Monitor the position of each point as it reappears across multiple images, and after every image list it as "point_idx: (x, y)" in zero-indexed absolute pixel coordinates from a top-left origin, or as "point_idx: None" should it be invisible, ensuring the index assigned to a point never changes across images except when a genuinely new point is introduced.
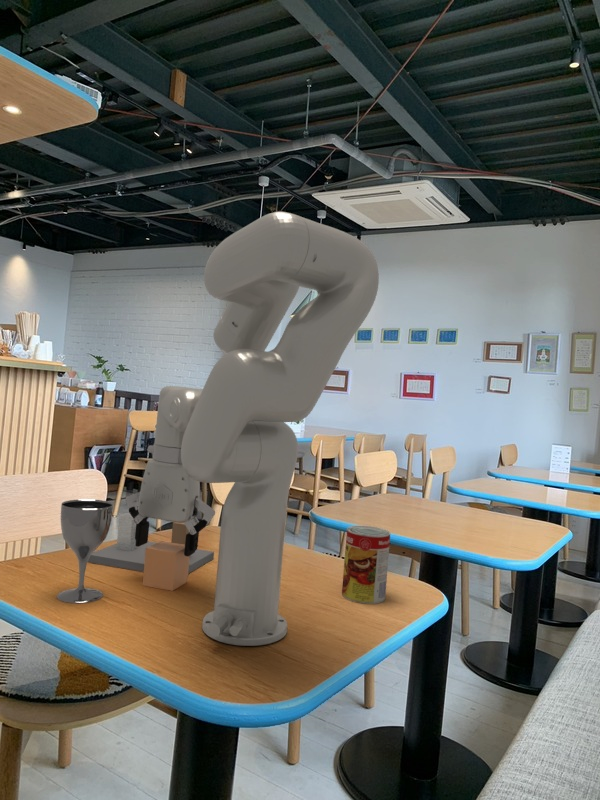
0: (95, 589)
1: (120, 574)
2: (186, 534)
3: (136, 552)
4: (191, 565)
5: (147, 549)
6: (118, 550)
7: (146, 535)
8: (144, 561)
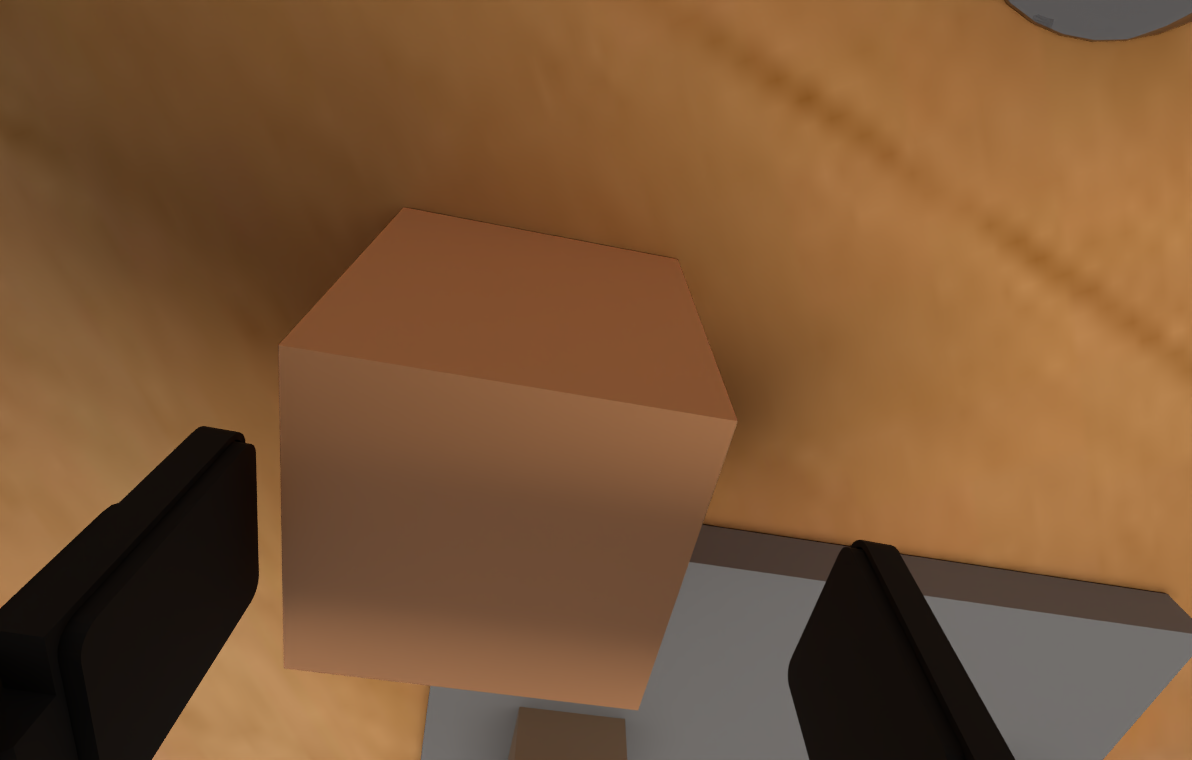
0: (1052, 12)
1: (902, 445)
2: (84, 648)
3: None
4: None
5: (707, 408)
6: None
7: (821, 722)
8: (777, 617)
